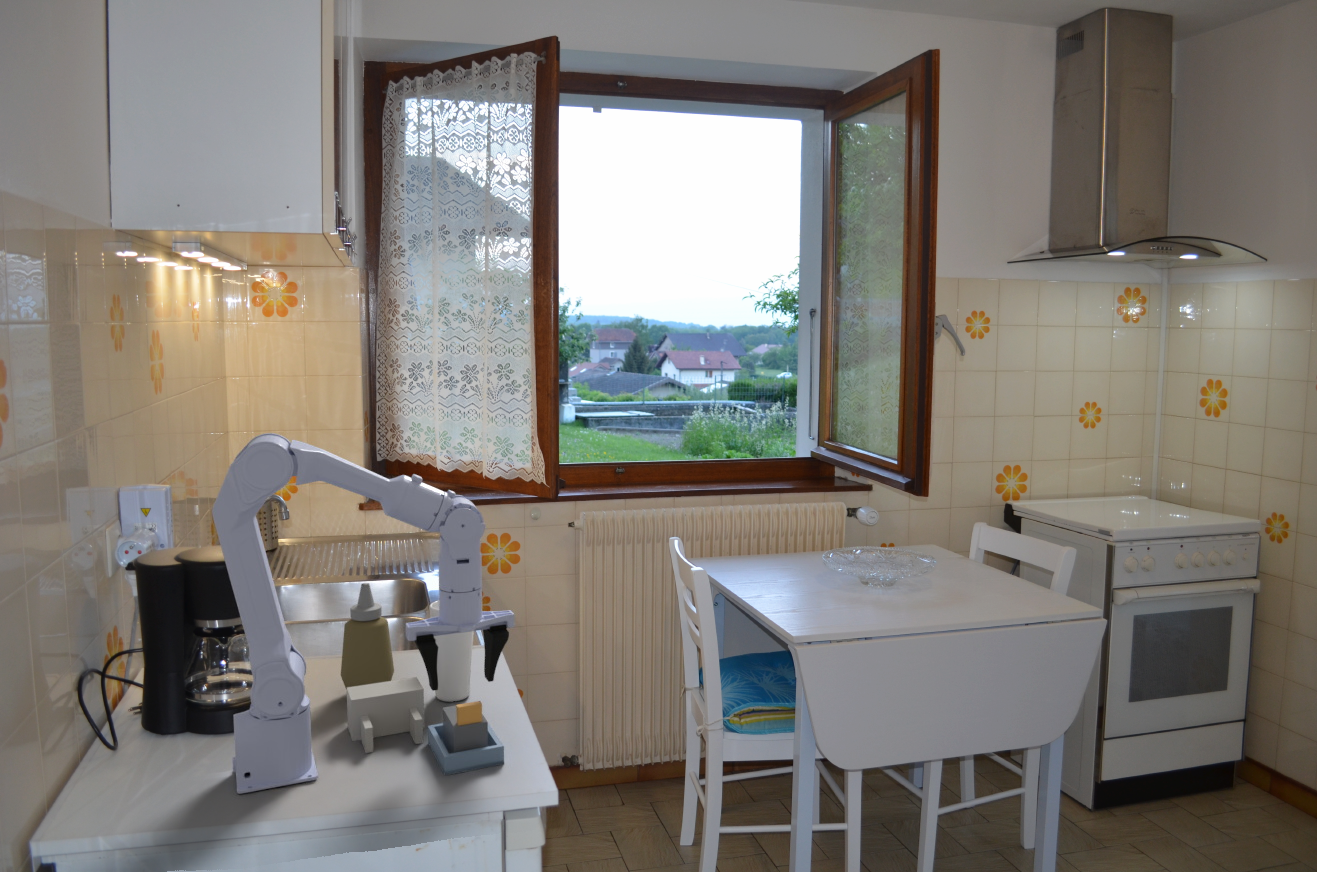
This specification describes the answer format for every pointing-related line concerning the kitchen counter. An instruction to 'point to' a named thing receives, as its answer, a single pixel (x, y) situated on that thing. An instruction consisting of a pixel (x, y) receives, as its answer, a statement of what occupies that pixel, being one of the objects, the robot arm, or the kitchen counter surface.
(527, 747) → the kitchen counter surface
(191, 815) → the kitchen counter surface
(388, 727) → the bay
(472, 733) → the gray block with tab
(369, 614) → the squeeze bottle
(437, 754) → the tray
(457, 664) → the drinking glass
